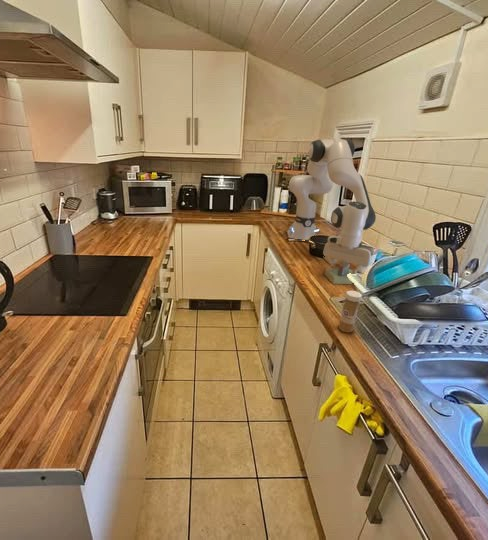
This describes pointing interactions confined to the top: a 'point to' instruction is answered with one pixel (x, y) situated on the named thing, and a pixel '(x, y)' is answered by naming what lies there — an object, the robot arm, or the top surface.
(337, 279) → the tap plate
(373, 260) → the white cup
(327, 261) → the switch block
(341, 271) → the spout
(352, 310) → the sprinkles bottle
